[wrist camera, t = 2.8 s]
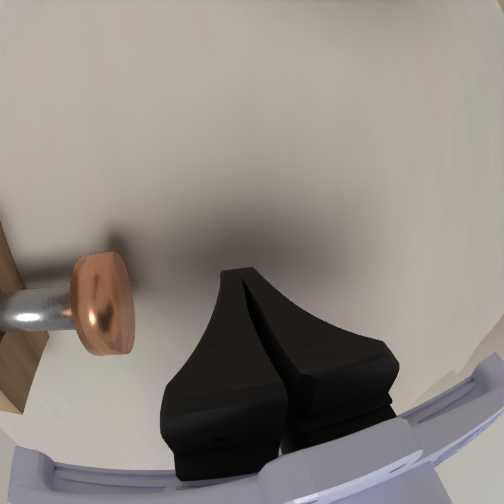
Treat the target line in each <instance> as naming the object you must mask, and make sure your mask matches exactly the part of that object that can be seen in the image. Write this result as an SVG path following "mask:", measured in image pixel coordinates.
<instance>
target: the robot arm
mask: <svg viewBox="0 0 504 504" xmlns="http://www.w3.org/2000/svg"><path fill="white" fill-rule="evenodd" d="M220 278H221V282H220V289H219V294H218V298H217V302H216V305H215V308H214V311H213V314H212V317H211V319H210V322H209V324H208V326H207V328H206V330H205V332H204V334H203V336H202V338H201V340H200V342H199V343H198V345H197V347H196V348H195V350H194V352H193V353H192V354H191V356H190V357H189V359H188V360H187V361H186V363H185V364H184V366H183V367H182V368H181V369H180V371H179V372H178V373H177V374H176V375H175V376H174V377H173V379H172V380H171V381H170V382H169V383H168V384H167V385H166V388H165V392H164V395H163V400H162V404H161V411H160V433H161V435H162V438H163V439H164V441H165V442H166V444H167V445H168V446H169V448H170V449H171V451H172V452H173V453H174V462H175V470H119V469H105V468H94V467H85V466H77V465H70V464H64V463H58V462H54V461H53V460H52V459H51V458H50V457H49V456H47V455H45V454H44V453H42V452H39V451H36V450H31V449H27V448H23V447H19V446H16V447H15V450H14V455H13V461H12V467H11V473H10V481H9V490H8V501H7V502H8V504H452V501H451V499H450V498H449V496H448V494H447V492H446V490H445V488H444V486H443V484H442V482H441V480H440V478H439V477H438V475H437V473H436V471H435V469H434V467H436V466H437V465H439V464H440V463H442V462H443V461H445V460H446V459H448V458H449V457H450V456H452V455H453V454H455V453H456V452H457V451H458V450H460V449H461V448H463V447H464V446H465V445H467V444H468V443H469V442H470V441H472V440H473V439H474V438H475V437H477V436H478V435H479V434H480V433H482V432H483V431H484V430H485V429H486V428H488V427H489V426H490V425H491V424H492V423H493V422H495V420H497V419H498V418H499V417H500V416H501V415H502V414H503V412H504V361H503V360H502V359H501V358H500V357H499V355H498V354H497V353H496V352H495V353H493V354H491V355H490V356H488V357H487V358H485V359H484V360H483V361H481V362H480V363H479V364H478V366H477V367H476V368H475V369H474V371H473V372H472V375H471V376H470V377H468V378H466V379H465V380H463V381H461V382H460V383H458V384H457V385H455V386H453V387H452V388H450V389H448V390H447V391H445V392H443V393H441V394H440V395H438V396H436V397H434V398H432V399H430V400H428V401H426V402H425V403H423V404H421V405H419V406H417V407H415V408H413V409H411V410H409V411H407V412H404V413H402V414H400V415H398V416H396V414H395V412H394V411H393V409H392V407H391V406H390V404H391V403H392V398H391V397H390V395H389V393H388V392H389V390H390V388H391V386H392V385H393V383H394V381H395V379H396V377H397V374H398V372H399V362H398V361H397V360H396V358H395V357H394V355H393V353H392V352H391V350H390V349H389V348H388V347H387V345H386V344H385V343H384V342H383V341H380V340H376V339H372V338H369V337H365V336H361V335H358V334H355V333H352V332H349V331H346V330H343V329H341V328H338V327H336V326H334V325H331V324H329V323H327V322H325V321H323V320H321V319H319V318H317V317H315V316H313V315H311V314H310V313H308V312H306V311H305V310H303V309H301V308H300V307H298V306H297V305H295V304H294V303H293V302H291V301H290V300H289V299H287V298H286V297H285V296H284V295H282V294H281V293H280V292H279V291H278V290H276V289H275V288H274V287H273V286H272V285H271V284H270V283H269V282H268V281H266V280H265V279H264V278H263V277H262V276H261V275H260V274H259V273H258V272H257V271H256V270H255V269H254V268H253V267H248V268H240V269H233V270H225V271H222V272H221V273H220Z"/></svg>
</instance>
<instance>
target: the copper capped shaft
mask: <svg viewBox="0 0 504 504" xmlns="http://www.w3.org/2000/svg"><path fill="white" fill-rule="evenodd" d="M74 329H76V331H77V334H78V336H79V338H80V340H81V342H82V344H83V346H84V347H85V348H86V350H87V351H88V352H89V353H91V354H92V355H95V356H102V355H121V354H128V353H130V351H131V350H132V347H133V344H134V338H135V311H134V302H133V295H132V289H131V284H130V280H129V276H128V273H127V270H126V267H125V264H124V262H123V260H122V258H121V257H120V255H119V254H118V253H117V252H115V251H112V252H105V253H98V254H90V255H83V256H81V257H80V258H79V259H78V260H77V262H76V264H75V266H74V268H73V272H72V276H71V283H70V285H65V286H55V287H46V288H37V289H28V290H18V291H9V292H0V332H18V331H54V330H74Z"/></svg>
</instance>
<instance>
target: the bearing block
mask: <svg viewBox="0 0 504 504" xmlns="http://www.w3.org/2000/svg"><path fill="white" fill-rule="evenodd" d="M18 290H25V288H24V286H23V284H22V281H21V279H20V276H19V274H18V272H17V269H16V267H15V264H14V262H13V259H12V256H11V254H10V251H9V248H8V245H7V242H6V239H5V236H4V233H3V230H2V227H1V224H0V292H9V291H18ZM48 338H49V336H48V334H47V332H46V331H18V332H0V410H1V411H6V412H11V413H16V414H22V415H23V412H24V408H25V404H26V401H27V398H28V394H29V391H30V388H31V385H32V382H33V379H34V376H35V373H36V370H37V367H38V364H39V361H40V359H41V356H42V353H43V351H44V348H45V346H46V343H47V341H48Z"/></svg>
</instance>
